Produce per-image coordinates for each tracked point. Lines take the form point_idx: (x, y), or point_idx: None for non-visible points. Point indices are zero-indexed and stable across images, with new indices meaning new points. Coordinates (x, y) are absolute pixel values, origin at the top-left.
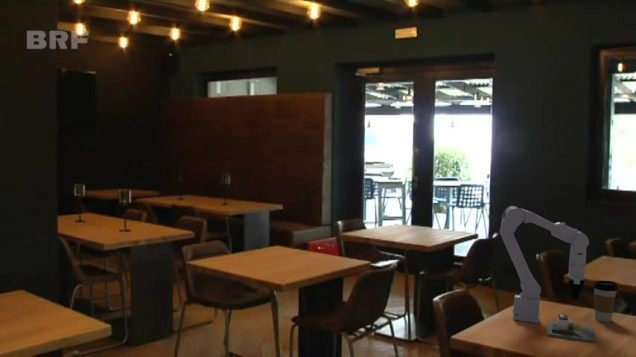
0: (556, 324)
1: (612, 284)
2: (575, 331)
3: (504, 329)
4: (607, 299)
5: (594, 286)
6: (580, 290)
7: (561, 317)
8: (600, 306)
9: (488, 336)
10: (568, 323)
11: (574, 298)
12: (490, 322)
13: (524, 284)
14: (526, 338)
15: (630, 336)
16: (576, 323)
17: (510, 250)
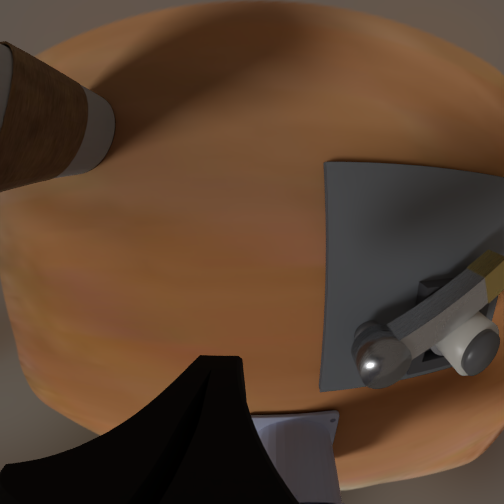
0: (415, 358)
1: None
2: (440, 266)
3: (427, 445)
4: (29, 76)
5: None
6: (260, 444)
7: (488, 359)
8: (61, 134)
9: (473, 439)
10: (483, 315)
11: (244, 391)
12: (371, 478)
13: None
14: (490, 387)
15: (330, 6)
16: (490, 279)
17: None
